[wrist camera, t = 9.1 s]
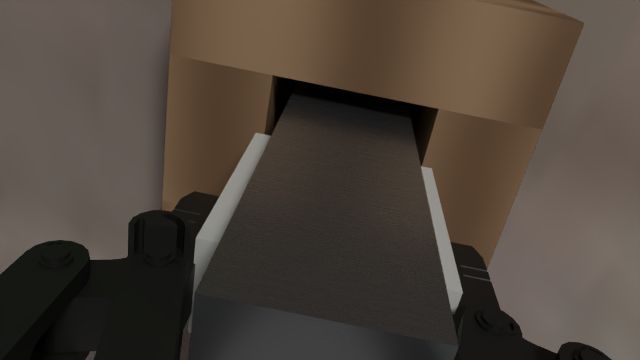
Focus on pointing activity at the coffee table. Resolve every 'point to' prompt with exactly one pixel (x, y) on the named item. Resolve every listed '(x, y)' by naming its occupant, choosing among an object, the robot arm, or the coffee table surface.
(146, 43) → the coffee table surface
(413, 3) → the wooden square frame
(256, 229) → the dark grey bar
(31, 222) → the coffee table surface
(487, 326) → the robot arm
